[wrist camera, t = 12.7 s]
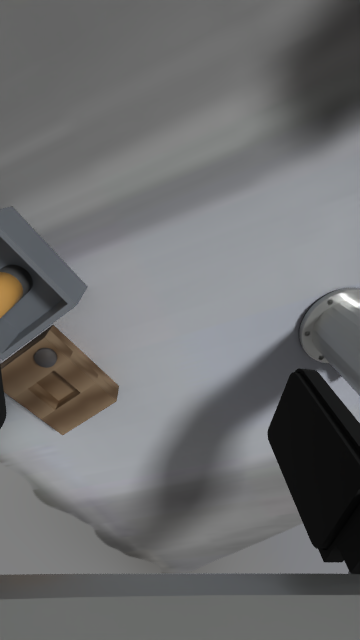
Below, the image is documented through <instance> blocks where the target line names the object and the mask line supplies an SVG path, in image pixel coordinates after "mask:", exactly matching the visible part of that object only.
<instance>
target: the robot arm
mask: <svg viewBox="0 0 360 640" xmlns="http://www.w3.org/2000/svg"><path fill="white" fill-rule="evenodd" d="M299 338H300V343H301V345H302V348H303V349H304V350H305V352H306V353H307V354H308V355H309V356H310V357H311V358H313V359H314V360H316V361H319V362H322V363H328V364H331V365H332V366H333V367H334V368H335V369H336V371H337V372H338V373H339V374H340V375H341V376H342V377H343V378H344V379H345V380H346V381H347V383H348V384H349V385H350V386H351V387H352V388H353V389H354V390H355V391H356V392H357V393H358V394H359V396H360V289H359V288H344V289H339V290H336V291H334V292H331V293H329V294H327V295H325V296H324V297H322V298H321V299H319V300H318V301H317V302H316V303H315V304H314V305H313V306H312V307H311V308H310V309H309V310H308V312H307V313H306V315H305V316H304V318H303V320H302V323H301V326H300V331H299ZM5 418H6V405H5V397H4V389H3V381H2V374H1V366H0V429H1V427H2V425H3V423H4V421H5ZM268 440H269V442H270V445H271V447H272V450H273V452H274V454H275V457H276V459H277V462H278V464H279V466H280V469H281V471H282V474H283V476H284V478H285V481H286V483H287V485H288V488H289V490H290V493H291V495H292V497H293V500H294V502H295V505H296V507H297V509H298V512H299V514H300V517H301V519H302V521H303V524H304V526H305V528H306V531H307V533H308V536H309V538H310V540H311V542H312V544H313V546H314V547H315V548H318V549H319V552H320V554H321V556H322V559H323V561H324V562H343V561H345V563H346V565H347V567H348V569H349V572H348V574H40V575H39V574H33V575H0V640H360V423H359V422H358V421H357V420H356V418H355V417H354V416H353V415H352V413H351V412H350V411H349V410H348V409H347V407H346V406H345V405H344V404H343V402H342V401H341V400H340V399H339V397H338V396H337V395H336V394H335V393H334V391H333V390H332V389H331V388H330V386H329V385H328V384H327V383H326V381H325V380H324V379H323V378H322V376H321V375H320V374H319V373H318V372H317V371H315V370H308V369H297V370H296V371H295V372H293V373H291V375H290V376H289V379H288V381H287V384H286V386H285V389H284V391H283V394H282V396H281V399H280V401H279V404H278V406H277V409H276V411H275V414H274V416H273V419H272V421H271V424H270V426H269V429H268Z"/></svg>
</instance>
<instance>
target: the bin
mask: <svg viewBox="0 0 360 640" xmlns="http://www.w3.org/2000/svg"><path fill="white" fill-rule="evenodd" d="M7 265H18V266H21V267H23V268H24V269H26V270H27V271H28V272H29V274H30V275H31V277H32V281H33V285H32V288H31V290H30V291H29V292H28V293H27V294H26V295H25V296H24V297H23V298H22V299H21V300H20V301H18V302H17V303H16V304H15V305H14V306H13V307H12V308H11V309H10V310H9V311H8V312H7V313H5V314H4V315H3V316H2V317H1V318H0V359H1V360H4V359H5V358H7V357H8V356H9V355H11V354H12V353H13V352H15V351H16V350H17V349H19V348H20V347H21V346H23V345H24V344H25V343H27V342H28V341H29V340H31V339H32V338H33V337H35V336H36V335H37V334H39V333H40V332H41V331H43V330H44V329H45V328H47V327H48V326H50V325H51V324H52V323H54V322H55V321H56V320H58V319H59V318H60V317H62V316H63V315H64V314H66V313H67V312H68V311H70V310H71V309H72V308H74V307H75V306H76V305H77V304H78V302H79V301H80V299H81V297H82V295H83V294H84V292H85V290H86V289H87V286H86V285H85V284H84V282H83V281H82V280H81V279H80V278H79V277H78V276H77V275H76V274H75V273H74V272H73V271H72V270H71V269H70V267H69V266H68V265H67V264H66V263H65V262H64V261H63V260H62V259H61V258H60V257H59V256H58V255H57V254H56V253H55V251H54V250H53V249H52V248H51V247H50V246H49V245H48V244H47V243H46V242H45V241H44V240H43V239H42V238H41V236H40V235H39V234H38V233H37V232H36V231H35V230H34V229H33V228H32V227H31V226H30V225H29V224H28V223H27V222H26V220H25V219H24V218H23V217H22V216H21V215H20V214H19V213H18V212H17V211H16V210H15V209H14V208H13V207H12V206H11V207H7V208H3V209H0V269H1V268H3V267H5V266H7Z"/></svg>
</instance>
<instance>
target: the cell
mask: <svg viewBox="0 0 360 640" xmlns="http://www.w3.org/2000/svg"><path fill="white" fill-rule="evenodd" d="M32 285H33V281H32V277H31V275H30V274H29V272H28V271H27V270H26V269H24V268H23V267H21V266H18V265H7V266H5V267H3V268H1V269H0V318H1V317H2V316H3V315H4V314H5V313H7V312H8V311H9V310H10V309H11V308H12V307H13V306H14V305H15V304H16V303H17V302H18V301H20V300H21V299H22V298H23V297H24V296H25V295H26V294H27V293H28V292H29V291H30V290H31V288H32Z"/></svg>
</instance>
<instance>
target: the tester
mask: <svg viewBox="0 0 360 640" xmlns="http://www.w3.org/2000/svg"><path fill="white" fill-rule="evenodd" d="M0 366H1V374H2V381H3V389H4V392H5V393H6V394H7V395H9V396H10V397H11V398H13V399H14V400H15V401H17V402H18V403H20V404H21V405H22V406H24V407H25V408H26V409H28V410H29V411H30V412H32V413H33V414H34V415H36V416H37V417H38V418H40V419H41V420H43V421H44V422H45V423H47V424H48V425H49V426H51V427H52V428H53V429H55V430H56V431H57V432H59V433H60V434H62V435H64V434H66V433H67V432H69V431H70V430H72V429H73V428H75V427H77V426H78V425H80V424H81V423H83V422H85V421H86V420H88V419H89V418H91V417H92V416H94V415H96V414H97V413H99V412H100V411H102V410H103V409H105V408H107V407H108V406H110V405H111V404H113V403H115V402H116V401H117V395H118V389H119V386H118V385H117V384H116V383H115V382H114V381H113V380H112V379H111V378H110V377H109V376H108V375H107V374H105V373H104V372H103V371H102V370H101V369H100V368H99V367H98V366H97V365H96V364H95V363H94V362H93V361H91V360H90V359H89V358H88V357H87V356H86V355H85V354H84V353H83V352H82V351H81V350H80V349H79V348H77V347H76V346H75V345H74V344H73V343H72V342H71V341H70V340H69V339H68V338H67V337H66V336H65V335H64V334H62V333H61V332H60V331H59V330H58V329H57V328H56V327H55V326H54V325H52V326H51V327H50V328H48V329H47V330H46V331H44V332H43V333H42V334H40V335H39V336H37V337H36V338H35V339H33V340H32V341H31V342H29V343H28V344H27V345H25V346H24V347H23V348H21V349H20V350H19V351H17V352H16V353H15V354H13V355H12V356H11V357H9V358H8V359H7V360H5V361H4V362H3V363H1V364H0Z"/></svg>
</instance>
